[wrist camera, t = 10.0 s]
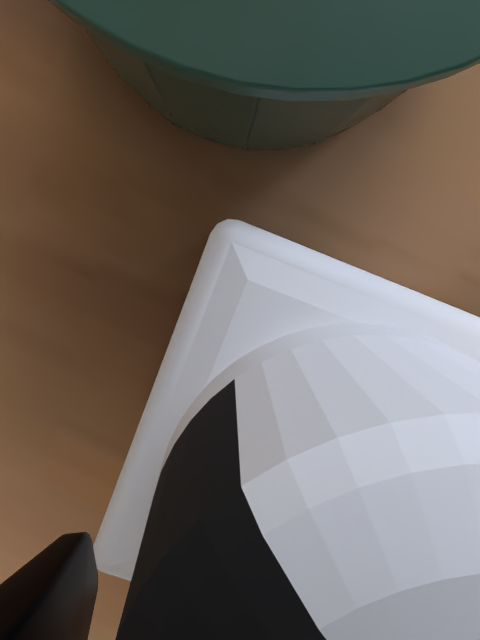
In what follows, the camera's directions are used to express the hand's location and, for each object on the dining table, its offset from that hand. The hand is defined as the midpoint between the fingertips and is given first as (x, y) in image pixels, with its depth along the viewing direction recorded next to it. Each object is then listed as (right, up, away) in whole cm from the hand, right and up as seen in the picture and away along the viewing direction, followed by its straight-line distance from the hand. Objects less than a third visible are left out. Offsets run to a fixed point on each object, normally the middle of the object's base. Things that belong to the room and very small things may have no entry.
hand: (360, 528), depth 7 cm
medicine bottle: (-1, +2, +8) cm, 8 cm away
